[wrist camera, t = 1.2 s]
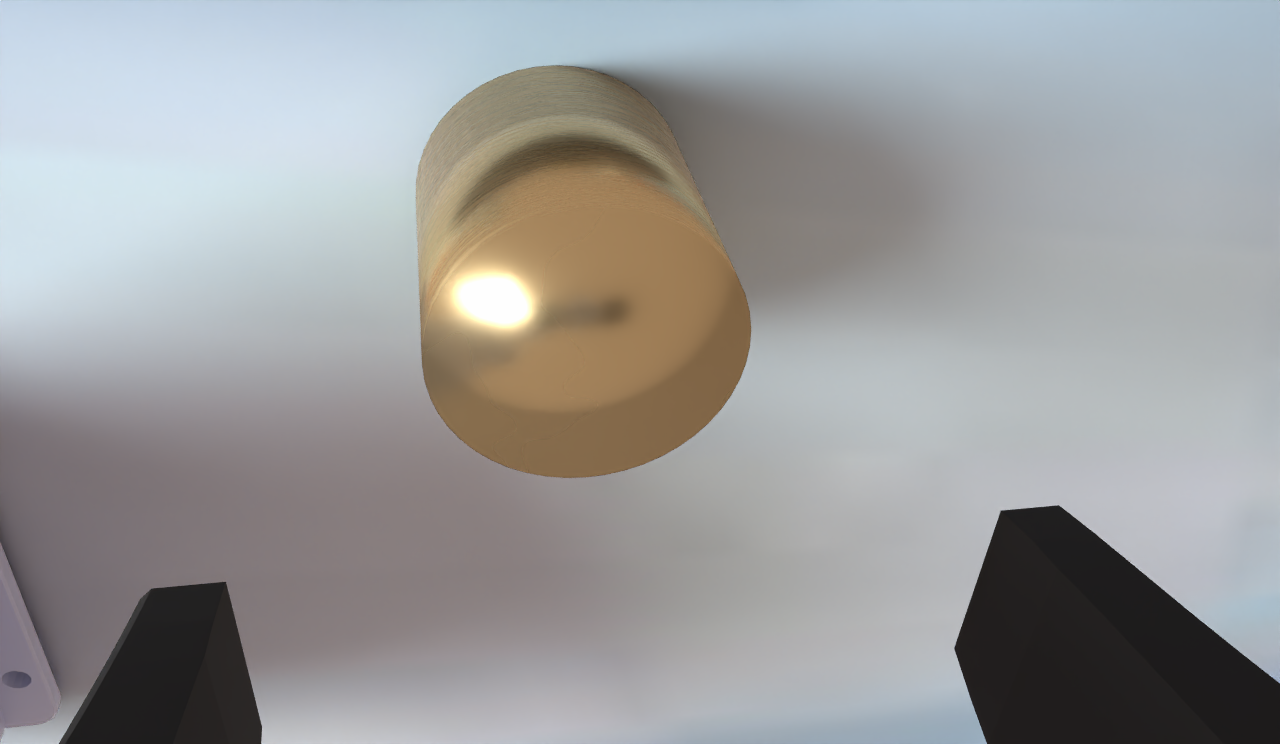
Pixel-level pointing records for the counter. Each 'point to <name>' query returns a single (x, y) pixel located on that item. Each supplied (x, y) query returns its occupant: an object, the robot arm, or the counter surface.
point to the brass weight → (571, 278)
